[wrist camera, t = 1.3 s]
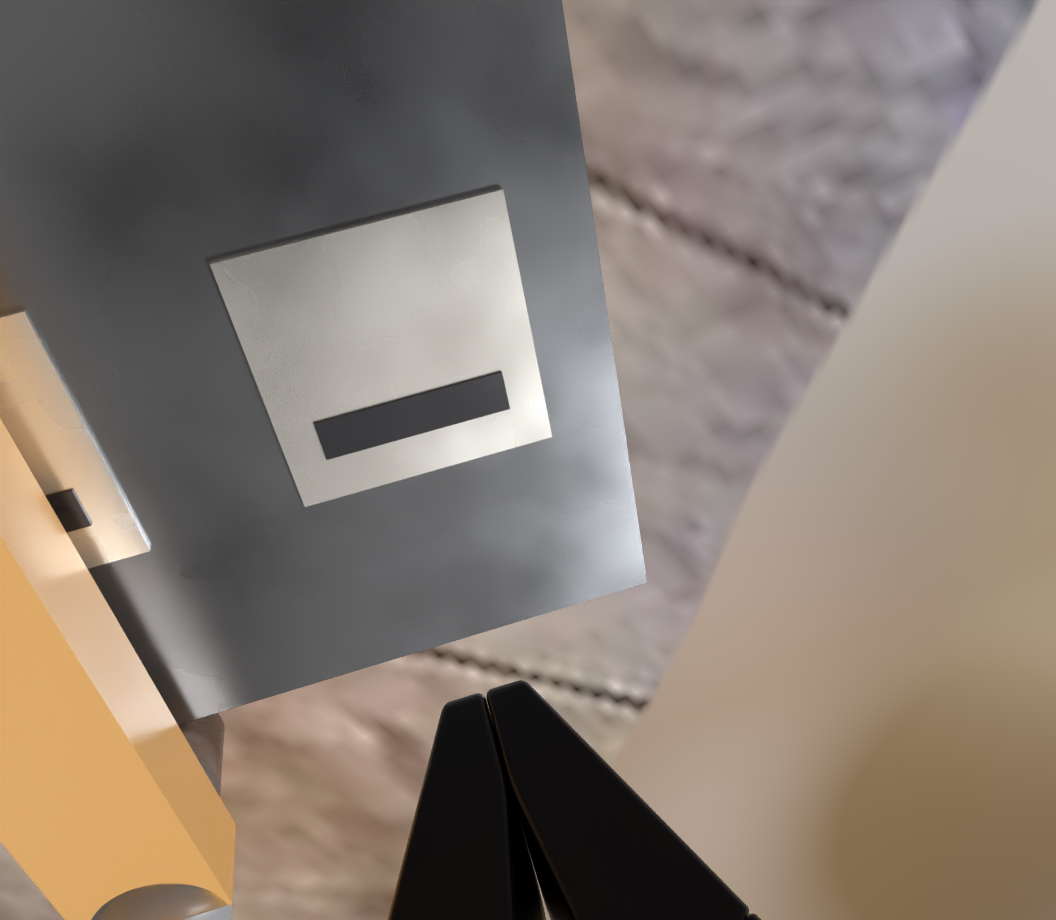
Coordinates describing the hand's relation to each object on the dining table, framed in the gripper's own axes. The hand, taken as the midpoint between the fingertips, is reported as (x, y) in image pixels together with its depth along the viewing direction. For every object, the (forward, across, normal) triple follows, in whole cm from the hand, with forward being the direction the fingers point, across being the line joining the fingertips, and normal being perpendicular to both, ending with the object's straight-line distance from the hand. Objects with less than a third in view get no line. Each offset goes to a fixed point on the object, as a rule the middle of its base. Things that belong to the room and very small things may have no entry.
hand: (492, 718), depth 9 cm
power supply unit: (+12, +4, +2) cm, 13 cm away
